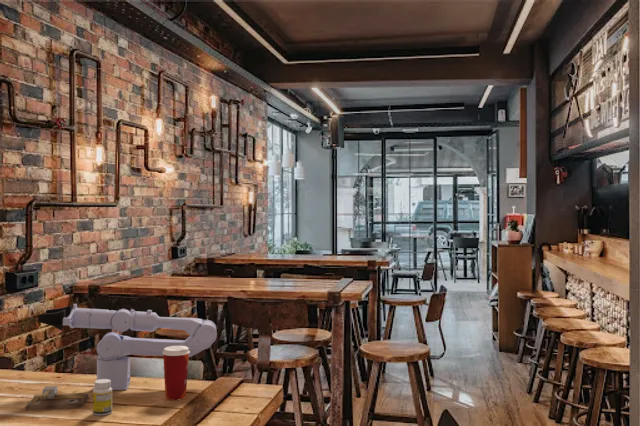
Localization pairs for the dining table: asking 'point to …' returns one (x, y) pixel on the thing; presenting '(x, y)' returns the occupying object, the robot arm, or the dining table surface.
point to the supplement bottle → (102, 397)
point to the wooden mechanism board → (58, 401)
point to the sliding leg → (49, 392)
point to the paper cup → (175, 371)
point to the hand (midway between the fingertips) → (42, 315)
